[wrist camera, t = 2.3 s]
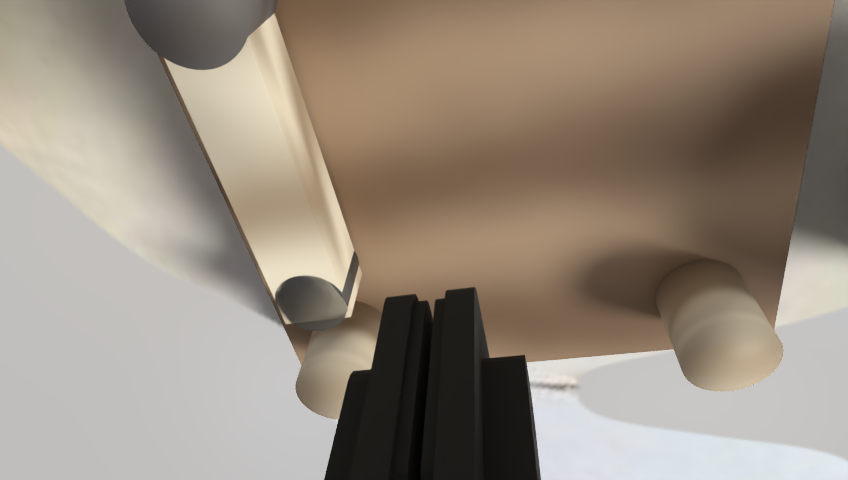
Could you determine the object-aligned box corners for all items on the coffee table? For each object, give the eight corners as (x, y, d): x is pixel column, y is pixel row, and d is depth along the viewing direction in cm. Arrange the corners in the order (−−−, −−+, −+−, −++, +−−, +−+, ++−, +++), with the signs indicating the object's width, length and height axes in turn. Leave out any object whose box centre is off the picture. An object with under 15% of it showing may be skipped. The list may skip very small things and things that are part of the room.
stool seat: (134, -116, 18) (-4, -96, 13) (824, -296, 15) (1019, -368, 10) (322, 335, 29) (289, 446, 24) (743, 292, 26) (813, 410, 21)
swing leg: (148, -62, 16) (99, -47, 14) (253, -88, 16) (219, -76, 14) (298, 291, 23) (280, 336, 21) (373, 282, 23) (363, 328, 21)
